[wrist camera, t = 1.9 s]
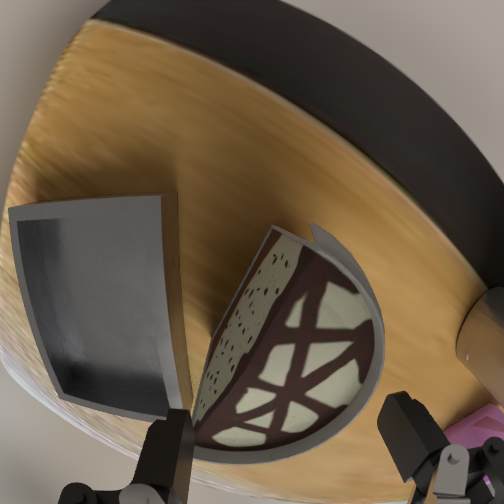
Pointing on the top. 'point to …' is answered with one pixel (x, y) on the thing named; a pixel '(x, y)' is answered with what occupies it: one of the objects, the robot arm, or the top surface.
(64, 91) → the top surface
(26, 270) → the grey metal tray
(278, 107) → the top surface
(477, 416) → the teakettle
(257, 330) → the grey speckled half-round piece
